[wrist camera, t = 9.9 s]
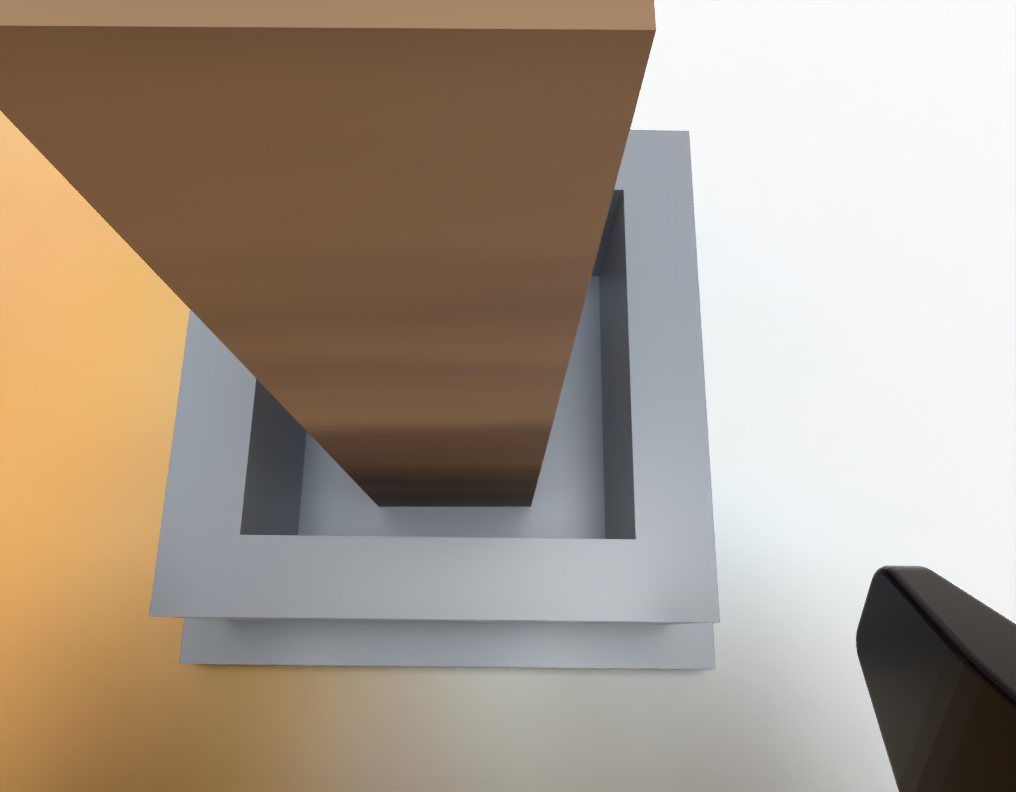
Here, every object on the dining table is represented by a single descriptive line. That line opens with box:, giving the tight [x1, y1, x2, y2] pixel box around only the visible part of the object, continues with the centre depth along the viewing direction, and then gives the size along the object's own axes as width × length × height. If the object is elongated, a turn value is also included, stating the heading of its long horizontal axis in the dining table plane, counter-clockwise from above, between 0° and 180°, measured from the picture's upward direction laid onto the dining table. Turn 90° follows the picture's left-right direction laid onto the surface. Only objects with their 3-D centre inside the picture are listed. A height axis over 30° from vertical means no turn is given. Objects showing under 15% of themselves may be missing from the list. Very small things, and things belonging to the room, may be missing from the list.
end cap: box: [149, 130, 720, 669], centre depth 15 cm, size 10×10×4 cm
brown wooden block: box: [0, 0, 656, 507], centre depth 10 cm, size 4×3×13 cm
